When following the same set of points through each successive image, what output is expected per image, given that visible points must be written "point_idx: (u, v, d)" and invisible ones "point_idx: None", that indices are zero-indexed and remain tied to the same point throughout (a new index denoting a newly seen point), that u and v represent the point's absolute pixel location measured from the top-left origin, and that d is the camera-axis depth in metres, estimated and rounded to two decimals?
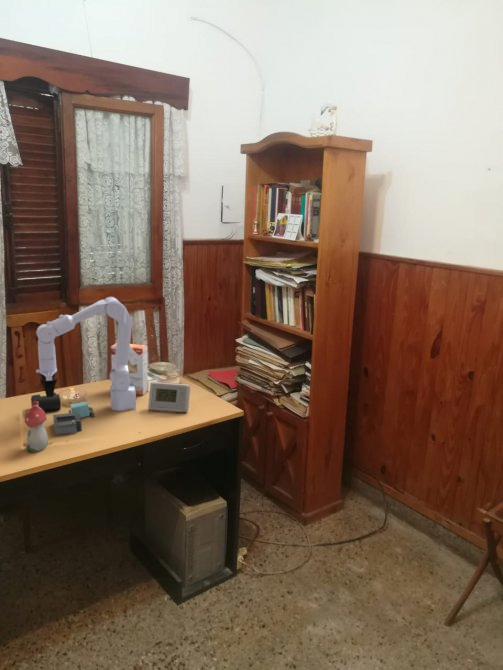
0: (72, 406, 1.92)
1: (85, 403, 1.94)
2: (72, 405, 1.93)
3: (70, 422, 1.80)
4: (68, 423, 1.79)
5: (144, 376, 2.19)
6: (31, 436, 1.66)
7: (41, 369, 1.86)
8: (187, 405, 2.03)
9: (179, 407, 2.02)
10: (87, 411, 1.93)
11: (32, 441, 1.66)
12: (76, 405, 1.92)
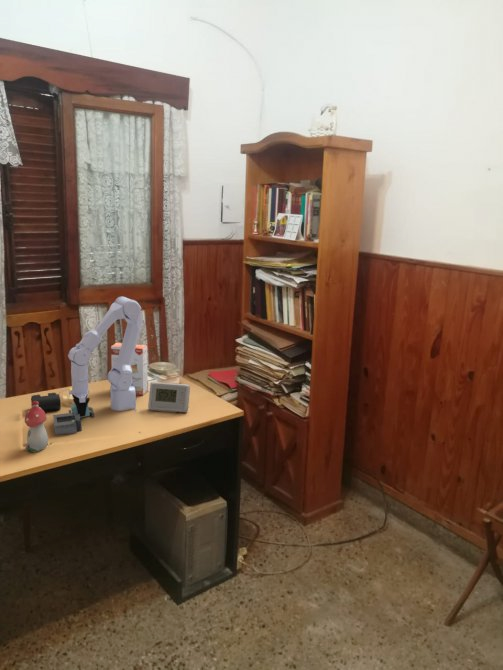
0: (72, 406, 1.92)
1: None
2: (72, 405, 1.93)
3: (70, 422, 1.80)
4: (68, 423, 1.79)
5: (144, 376, 2.19)
6: (31, 436, 1.66)
7: (74, 391, 1.89)
8: (187, 405, 2.03)
9: (179, 407, 2.02)
10: (87, 411, 1.93)
11: (32, 441, 1.66)
12: None
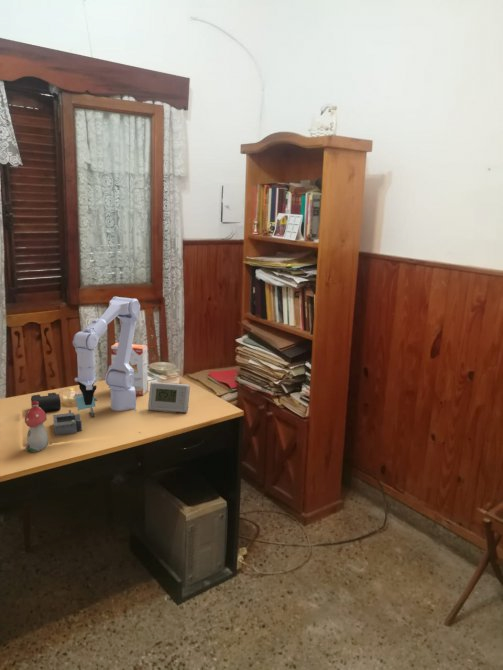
0: (77, 396, 1.82)
1: None
2: (77, 396, 1.82)
3: (70, 422, 1.80)
4: (68, 423, 1.79)
5: (144, 376, 2.19)
6: (31, 436, 1.66)
7: (80, 378, 1.79)
8: (187, 405, 2.03)
9: (179, 407, 2.02)
10: (93, 402, 1.83)
11: (32, 441, 1.66)
12: (81, 396, 1.82)
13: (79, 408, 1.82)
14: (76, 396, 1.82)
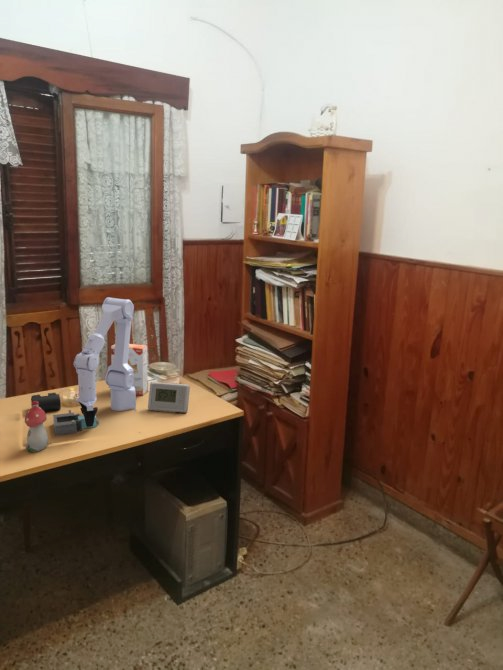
0: (80, 417, 1.84)
1: None
2: (79, 417, 1.85)
3: (70, 422, 1.80)
4: (68, 423, 1.79)
5: (144, 376, 2.19)
6: (31, 436, 1.66)
7: (81, 398, 1.81)
8: (187, 405, 2.03)
9: (179, 407, 2.02)
10: (94, 424, 1.85)
11: (32, 441, 1.66)
12: None
13: None
14: (79, 417, 1.84)
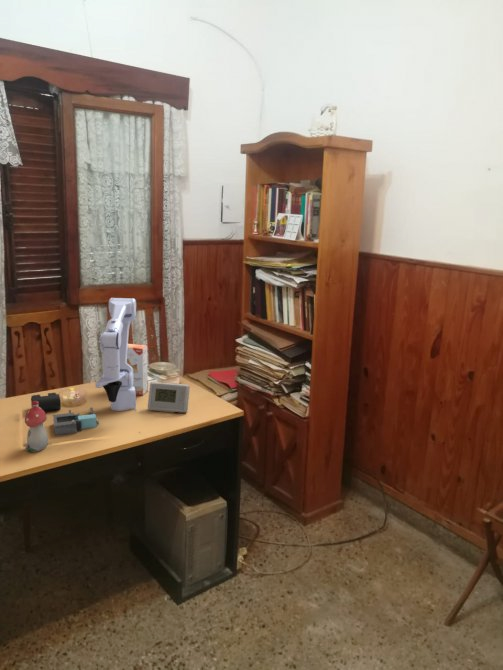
0: (80, 417, 1.84)
1: (93, 416, 1.86)
2: (79, 417, 1.85)
3: (70, 422, 1.80)
4: (68, 423, 1.79)
5: (144, 376, 2.19)
6: (31, 436, 1.66)
7: (103, 375, 1.84)
8: (186, 405, 2.03)
9: (178, 407, 2.02)
10: (94, 424, 1.85)
11: (32, 441, 1.66)
12: (84, 417, 1.84)
13: None
14: (79, 417, 1.84)
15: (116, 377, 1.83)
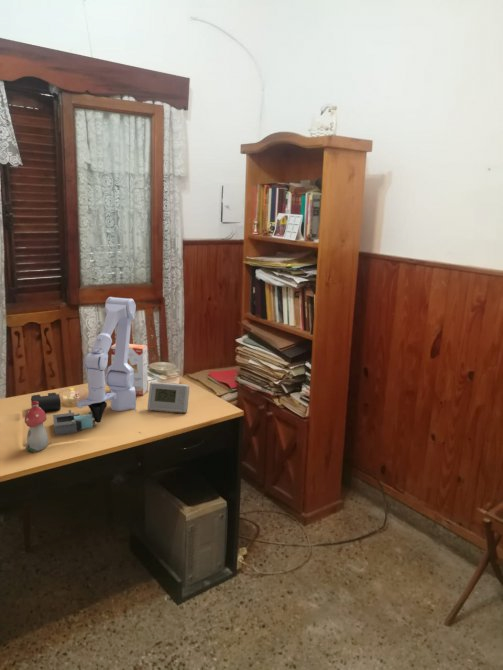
0: (76, 418, 1.83)
1: (89, 416, 1.85)
2: (75, 417, 1.84)
3: (70, 422, 1.80)
4: (68, 423, 1.79)
5: (144, 376, 2.19)
6: (31, 436, 1.66)
7: None
8: (186, 405, 2.02)
9: (178, 407, 2.02)
10: (90, 425, 1.85)
11: (32, 441, 1.66)
12: (80, 417, 1.84)
13: None
14: (75, 417, 1.84)
15: (99, 398, 1.82)
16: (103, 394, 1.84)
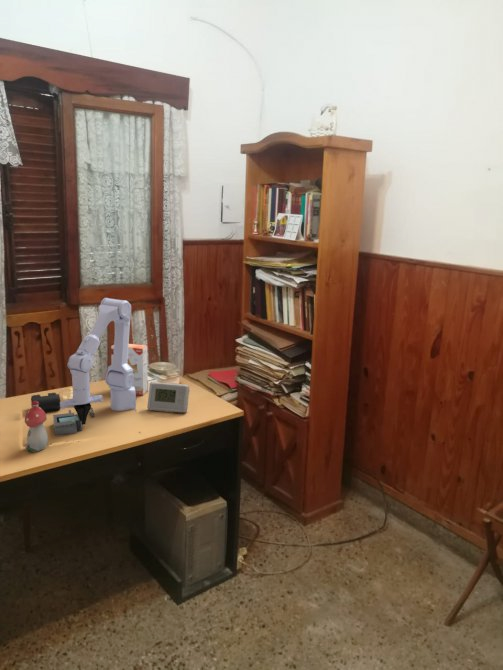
0: (61, 420, 1.81)
1: (75, 418, 1.83)
2: (61, 419, 1.82)
3: (70, 422, 1.80)
4: (68, 423, 1.79)
5: (144, 376, 2.19)
6: (31, 436, 1.66)
7: None
8: (186, 405, 2.02)
9: (178, 407, 2.02)
10: None
11: (32, 441, 1.66)
12: (65, 419, 1.82)
13: None
14: (60, 420, 1.81)
15: (82, 400, 1.80)
16: (87, 396, 1.81)
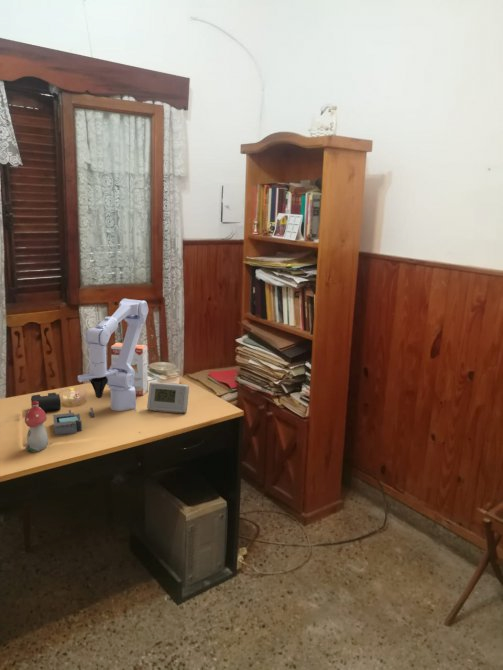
0: (61, 420, 1.81)
1: (75, 418, 1.83)
2: (61, 420, 1.82)
3: (70, 422, 1.80)
4: (68, 423, 1.79)
5: (144, 376, 2.19)
6: (31, 436, 1.66)
7: None
8: (186, 405, 2.02)
9: (178, 407, 2.02)
10: None
11: (32, 441, 1.66)
12: (65, 420, 1.82)
13: None
14: (60, 420, 1.81)
15: (99, 373, 1.84)
16: (104, 369, 1.85)
